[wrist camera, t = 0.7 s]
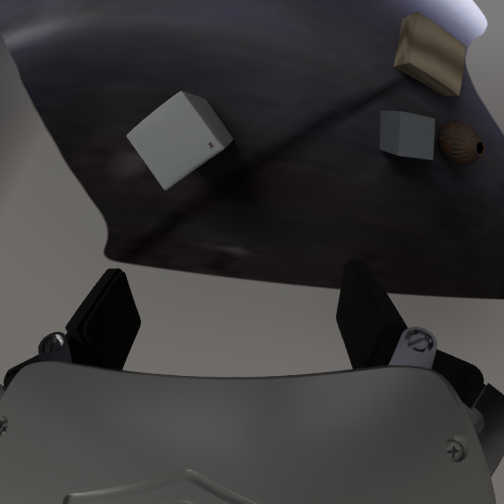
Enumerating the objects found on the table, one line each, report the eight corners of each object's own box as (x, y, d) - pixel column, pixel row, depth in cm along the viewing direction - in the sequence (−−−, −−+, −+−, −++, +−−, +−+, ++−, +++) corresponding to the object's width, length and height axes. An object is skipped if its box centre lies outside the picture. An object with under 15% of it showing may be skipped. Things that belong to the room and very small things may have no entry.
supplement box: (205, 97, 32) (183, 87, 21) (235, 140, 35) (227, 150, 24) (162, 128, 34) (123, 134, 22) (191, 169, 37) (164, 193, 25)
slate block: (380, 110, 32) (399, 111, 27) (412, 116, 32) (434, 118, 27) (379, 149, 35) (398, 155, 30) (411, 152, 35) (432, 160, 30)
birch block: (401, 19, 24) (417, 11, 20) (448, 49, 25) (465, 46, 21) (392, 66, 29) (409, 62, 24) (440, 95, 30) (459, 96, 26)
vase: (456, 117, 31) (490, 123, 23) (461, 155, 34) (494, 168, 26) (428, 121, 32) (462, 126, 24) (434, 161, 35) (467, 175, 27)
